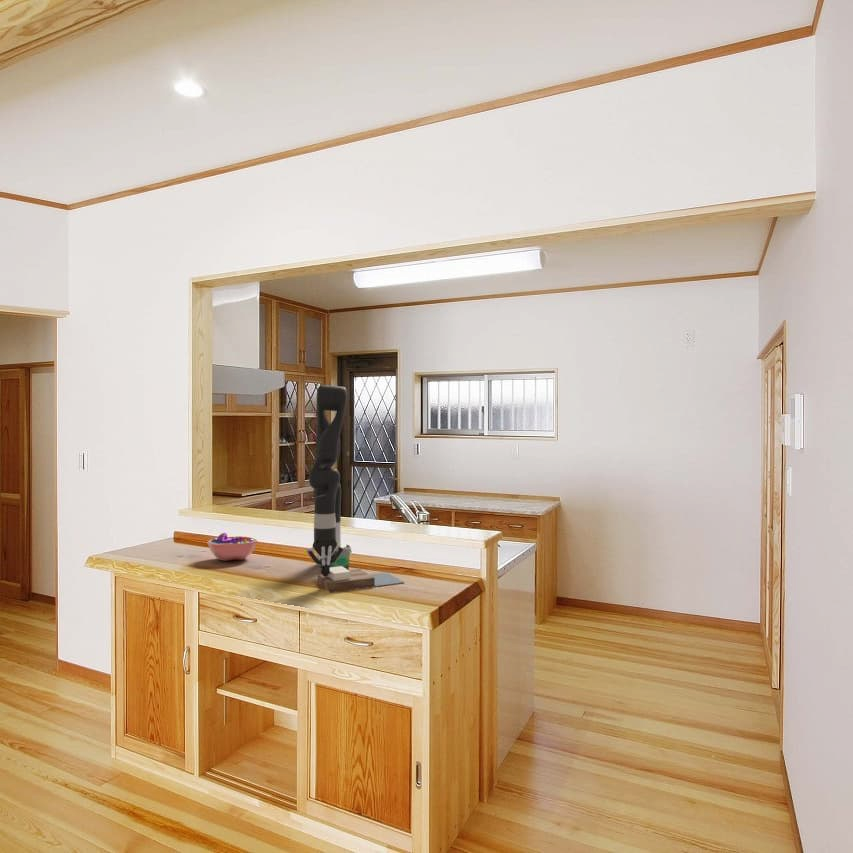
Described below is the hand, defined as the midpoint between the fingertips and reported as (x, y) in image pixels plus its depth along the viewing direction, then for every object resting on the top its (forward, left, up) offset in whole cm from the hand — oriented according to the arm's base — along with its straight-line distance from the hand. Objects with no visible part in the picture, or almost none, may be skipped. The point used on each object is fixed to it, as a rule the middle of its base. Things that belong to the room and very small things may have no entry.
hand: (325, 575), depth 218 cm
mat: (0, +21, -4) cm, 21 cm away
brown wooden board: (0, +8, -4) cm, 9 cm away
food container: (-14, +11, -4) cm, 18 cm away
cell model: (-57, -21, -4) cm, 61 cm away
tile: (0, +5, 0) cm, 5 cm away
